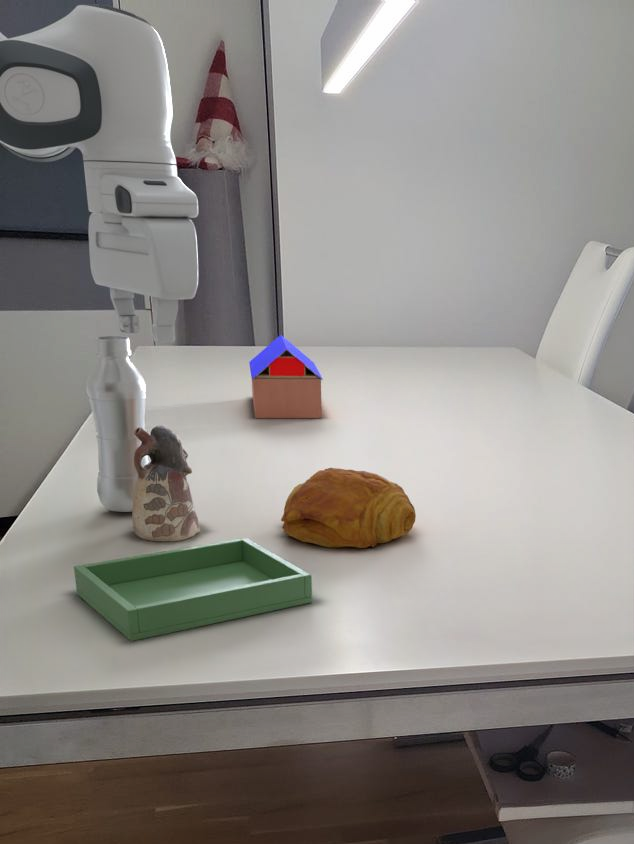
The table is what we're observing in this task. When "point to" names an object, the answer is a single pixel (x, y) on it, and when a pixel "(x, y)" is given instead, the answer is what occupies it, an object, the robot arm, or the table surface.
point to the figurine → (162, 488)
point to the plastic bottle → (116, 420)
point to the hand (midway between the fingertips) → (146, 337)
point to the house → (285, 383)
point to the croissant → (347, 509)
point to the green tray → (191, 587)
